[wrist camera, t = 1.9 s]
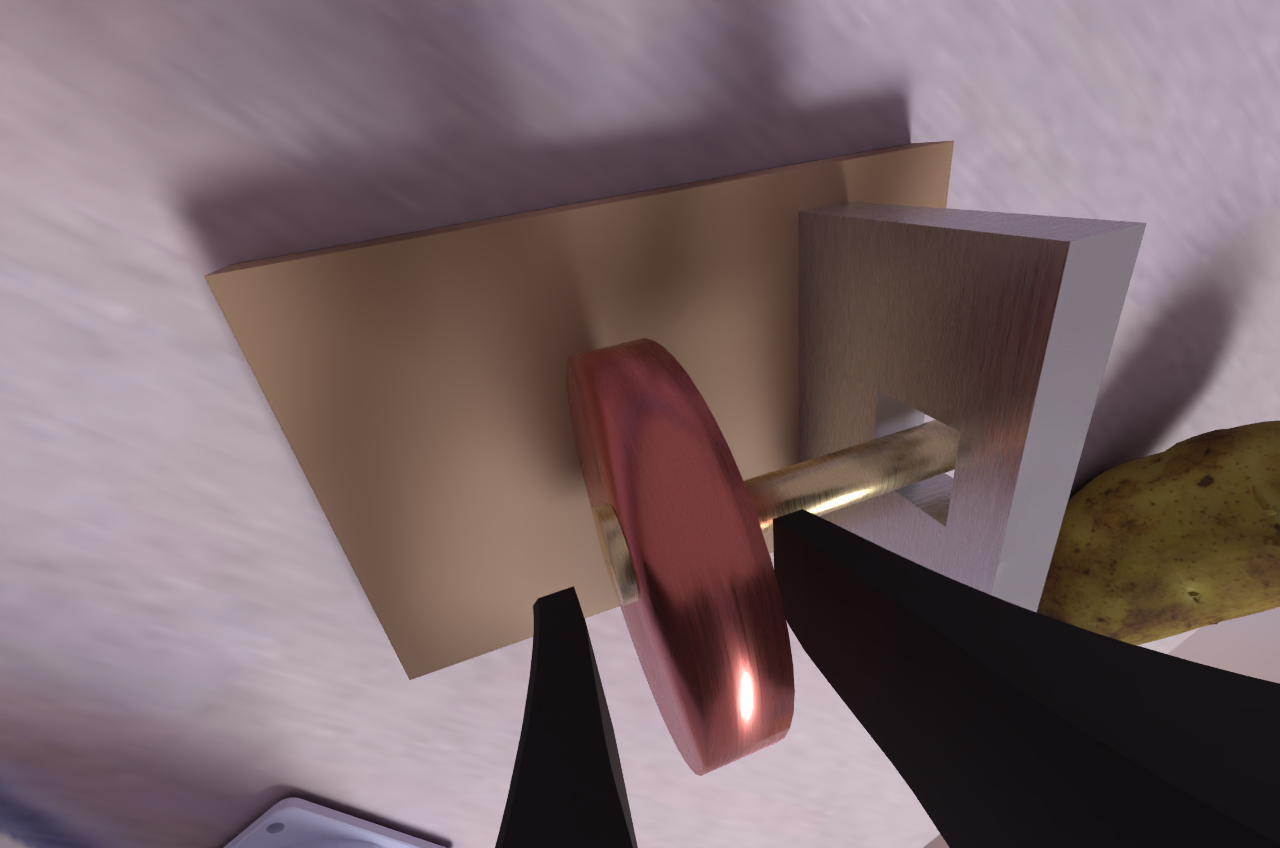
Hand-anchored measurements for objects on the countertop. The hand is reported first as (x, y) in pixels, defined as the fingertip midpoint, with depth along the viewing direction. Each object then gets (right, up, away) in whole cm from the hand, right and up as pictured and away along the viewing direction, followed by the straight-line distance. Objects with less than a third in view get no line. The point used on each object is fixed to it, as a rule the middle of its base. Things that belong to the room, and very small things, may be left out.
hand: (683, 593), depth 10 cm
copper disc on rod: (+2, +3, +6) cm, 7 cm away
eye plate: (+5, +4, +7) cm, 9 cm away
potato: (+22, 0, +17) cm, 28 cm away
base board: (-1, +4, +7) cm, 8 cm away
